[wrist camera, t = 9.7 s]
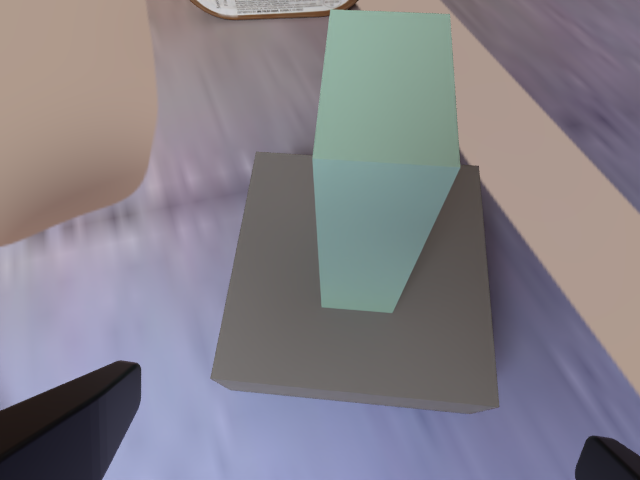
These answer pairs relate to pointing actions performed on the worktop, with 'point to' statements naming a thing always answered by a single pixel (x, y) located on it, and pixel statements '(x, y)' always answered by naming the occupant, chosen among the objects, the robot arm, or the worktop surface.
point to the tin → (271, 8)
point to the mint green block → (381, 151)
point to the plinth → (355, 325)
